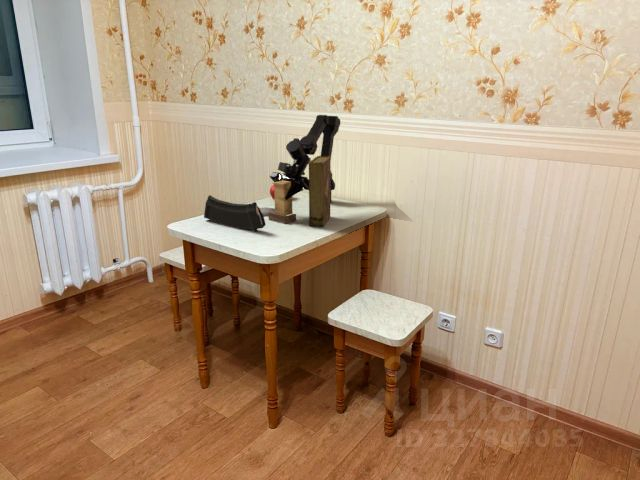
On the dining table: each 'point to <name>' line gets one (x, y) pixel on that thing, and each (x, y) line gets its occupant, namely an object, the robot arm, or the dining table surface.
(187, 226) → the dining table surface
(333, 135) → the robot arm
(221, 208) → the magazine
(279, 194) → the oak block
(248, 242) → the dining table surface
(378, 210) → the dining table surface
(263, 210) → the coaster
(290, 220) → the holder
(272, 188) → the pomegranate
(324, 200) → the book
